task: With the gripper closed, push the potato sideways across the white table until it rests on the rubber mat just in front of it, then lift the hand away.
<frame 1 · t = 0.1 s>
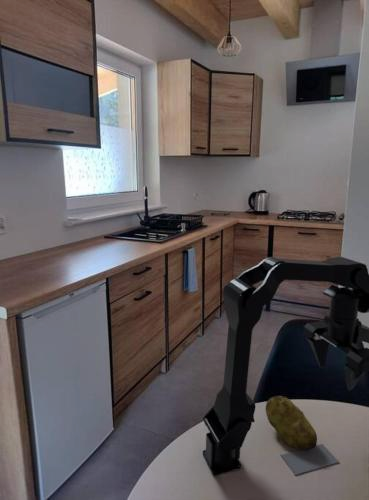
hand: (335, 377, 82), 15 cm above the table, tool pointing down, fingers open, 9 cm apart
potato: (288, 437, 83), on the table, touching mat
mat: (309, 459, 77), on the table
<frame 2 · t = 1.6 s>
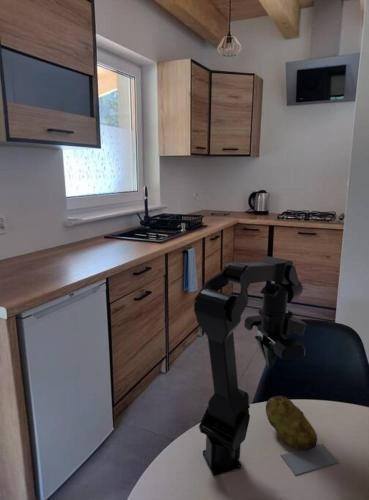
hand: (270, 366, 90), 13 cm above the table, tool pointing down, fingers closed
nothing on the table moved.
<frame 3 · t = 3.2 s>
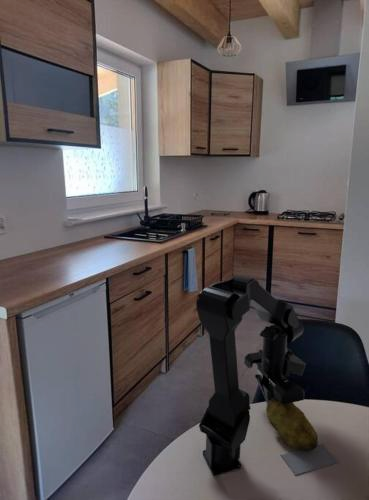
hand: (269, 405, 91), 3 cm above the table, tool pointing down, fingers closed
potato: (289, 438, 83), on the table, touching gripper
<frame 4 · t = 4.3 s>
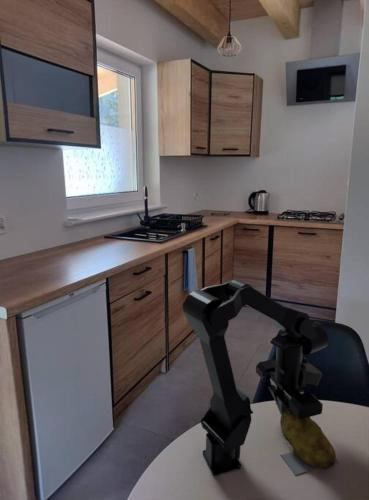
hand: (283, 416, 86), 3 cm above the table, tool pointing down, fingers closed
potato: (304, 453, 79), on the table, touching gripper
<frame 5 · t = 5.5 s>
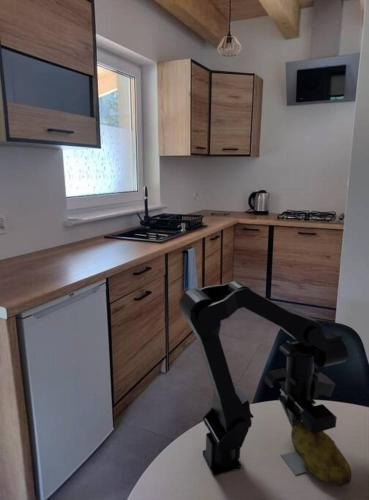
hand: (294, 428, 82), 3 cm above the table, tool pointing down, fingers closed
potato: (317, 468, 75), on the table, touching gripper, mat
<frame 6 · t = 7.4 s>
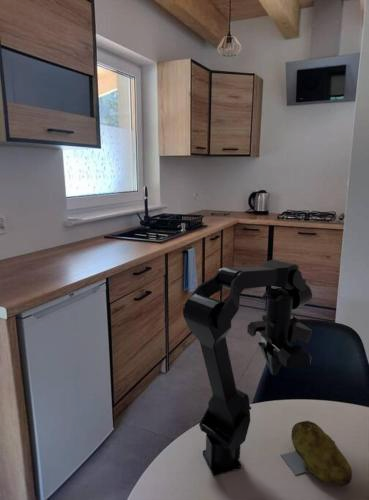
hand: (274, 374, 86), 13 cm above the table, tool pointing down, fingers closed
potato: (317, 468, 75), on the table, touching mat
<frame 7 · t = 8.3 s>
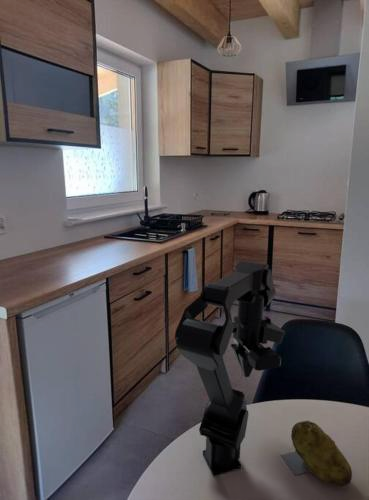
hand: (246, 376, 85), 13 cm above the table, tool pointing down, fingers closed
nothing on the table moved.
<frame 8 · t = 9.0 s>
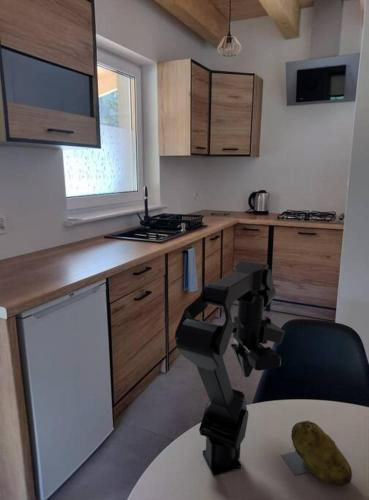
hand: (246, 376, 85), 13 cm above the table, tool pointing down, fingers closed
nothing on the table moved.
at the end: potato inside the target area on the mat (2.4 cm from its centre), point 0.0 cm above the mat's base; the gripper is holding nothing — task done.
